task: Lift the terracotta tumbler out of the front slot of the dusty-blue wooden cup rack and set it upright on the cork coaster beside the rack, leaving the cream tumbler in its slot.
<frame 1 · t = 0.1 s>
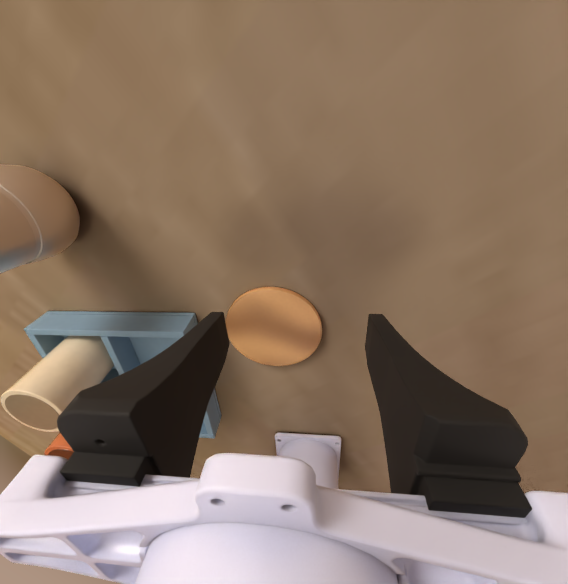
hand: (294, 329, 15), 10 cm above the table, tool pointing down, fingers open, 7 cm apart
cream tumbler: (97, 345, 30), resting on rack
plastic bottle: (52, 203, 23), on the table
rack: (143, 368, 32), on the table
tumbler: (121, 393, 34), resting on rack
coaster: (273, 327, 28), on the table
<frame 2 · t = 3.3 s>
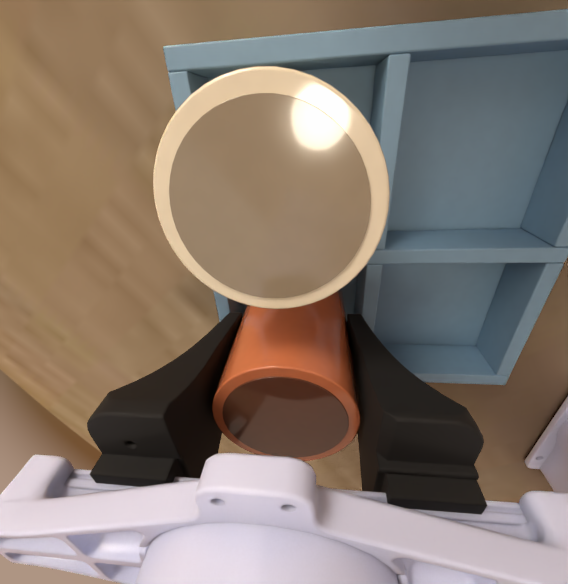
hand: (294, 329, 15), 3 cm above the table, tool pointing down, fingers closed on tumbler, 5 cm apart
cream tumbler: (292, 162, 13), resting on rack
rack: (366, 234, 15), on the table
tumbler: (297, 298, 17), point 1 cm above the table, touching gripper, rack
when the fingers open (3 cm above the table, at t = 8.7 s): tumbler stays where it is, resting on coaster.
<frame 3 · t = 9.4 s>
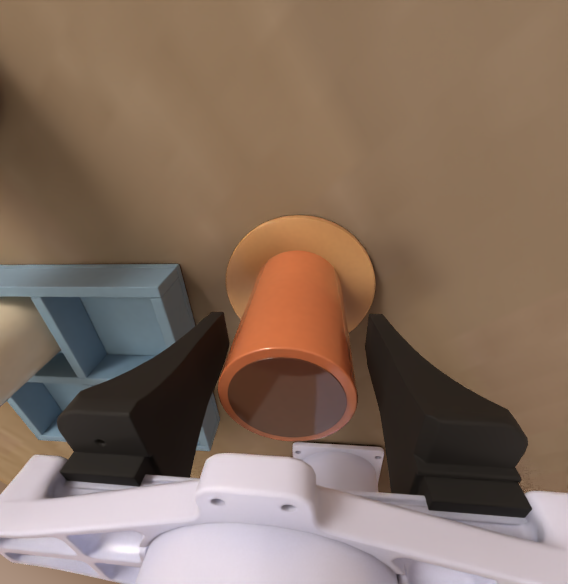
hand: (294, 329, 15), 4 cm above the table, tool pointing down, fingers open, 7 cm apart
cream tumbler: (39, 318, 21), resting on rack
rack: (109, 352, 23), on the table
tumbler: (297, 290, 18), resting on coaster
coaster: (299, 286, 18), on the table
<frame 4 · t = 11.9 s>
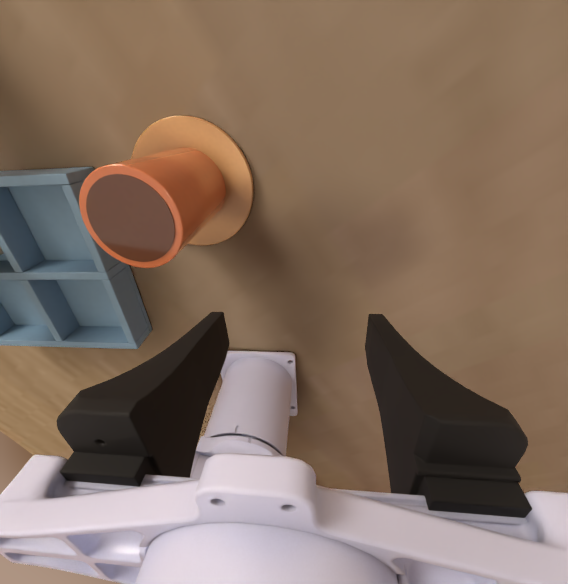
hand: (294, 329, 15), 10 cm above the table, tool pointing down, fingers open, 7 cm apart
rack: (48, 261, 26), on the table
tumbler: (190, 186, 21), resting on coaster
coaster: (194, 186, 22), on the table
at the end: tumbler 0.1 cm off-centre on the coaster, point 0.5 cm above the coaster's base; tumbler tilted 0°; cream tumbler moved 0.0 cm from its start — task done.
